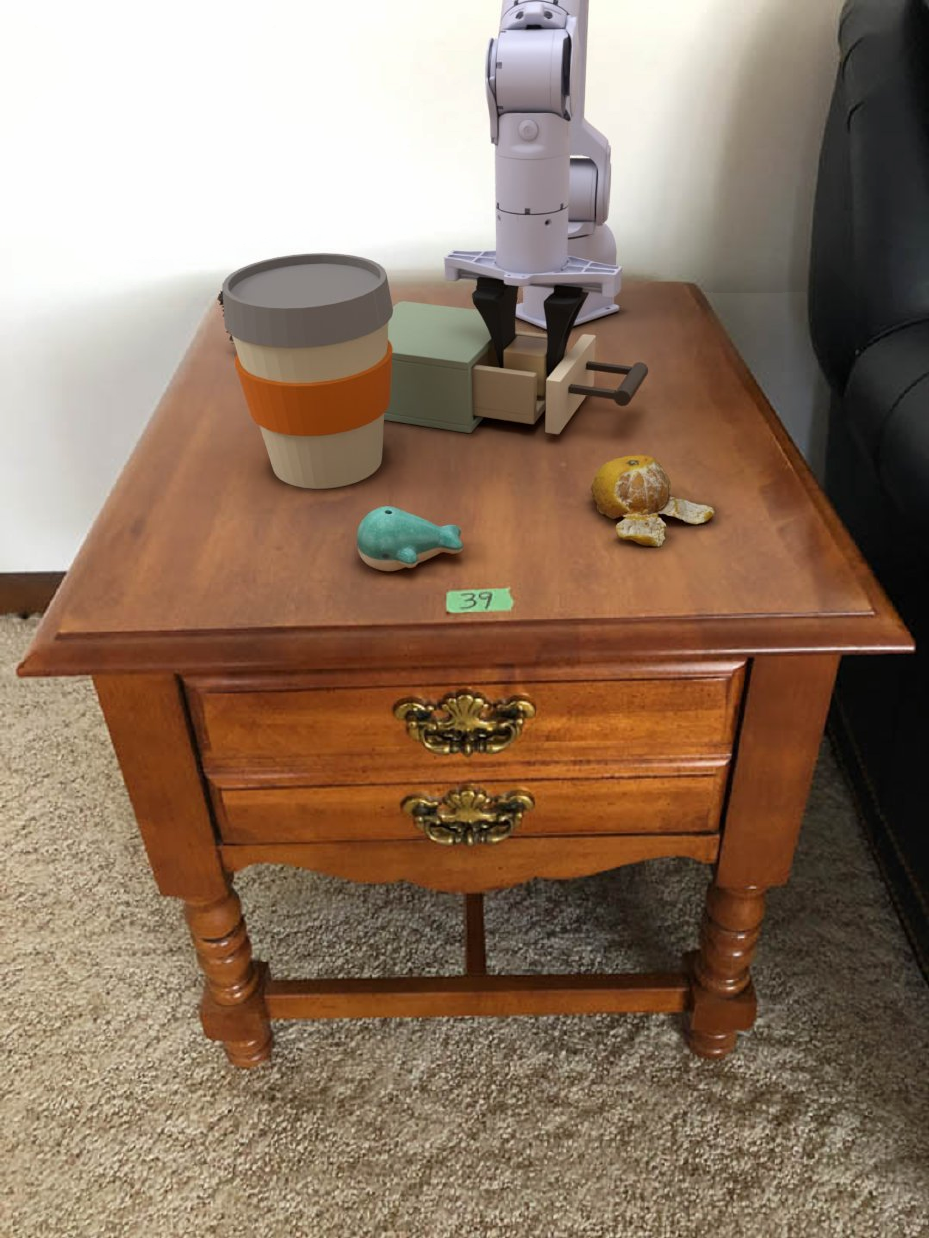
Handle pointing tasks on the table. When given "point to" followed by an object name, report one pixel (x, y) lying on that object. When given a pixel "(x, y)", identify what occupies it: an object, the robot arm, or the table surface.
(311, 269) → the reusable coffee cup
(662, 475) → the fruit
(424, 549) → the whale figurine
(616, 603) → the table surface
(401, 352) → the cabinet
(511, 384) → the drawer
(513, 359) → the block
